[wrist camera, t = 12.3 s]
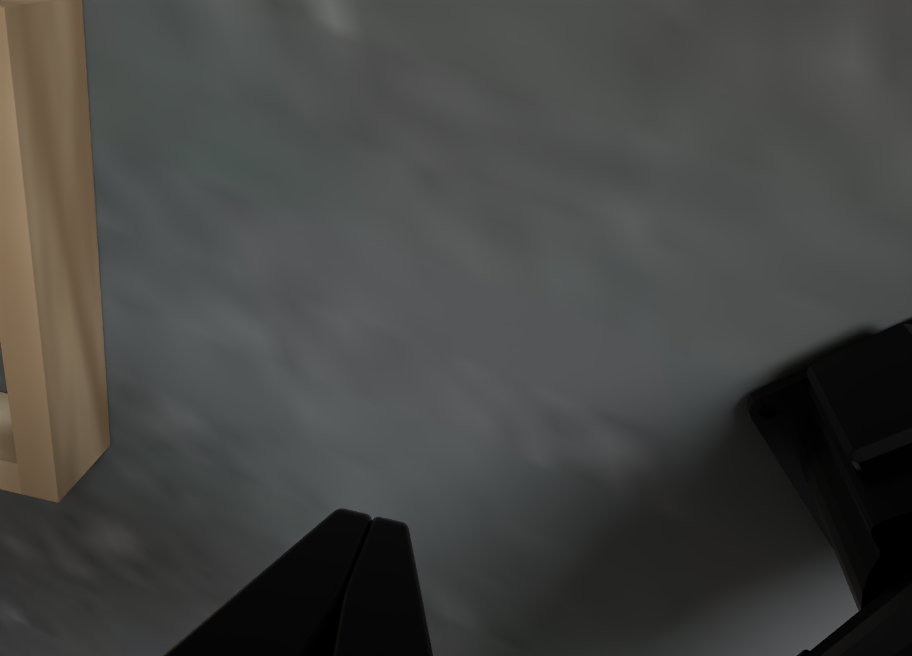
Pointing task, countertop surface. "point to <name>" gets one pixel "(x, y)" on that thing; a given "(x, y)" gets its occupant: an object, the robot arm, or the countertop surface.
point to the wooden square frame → (48, 255)
